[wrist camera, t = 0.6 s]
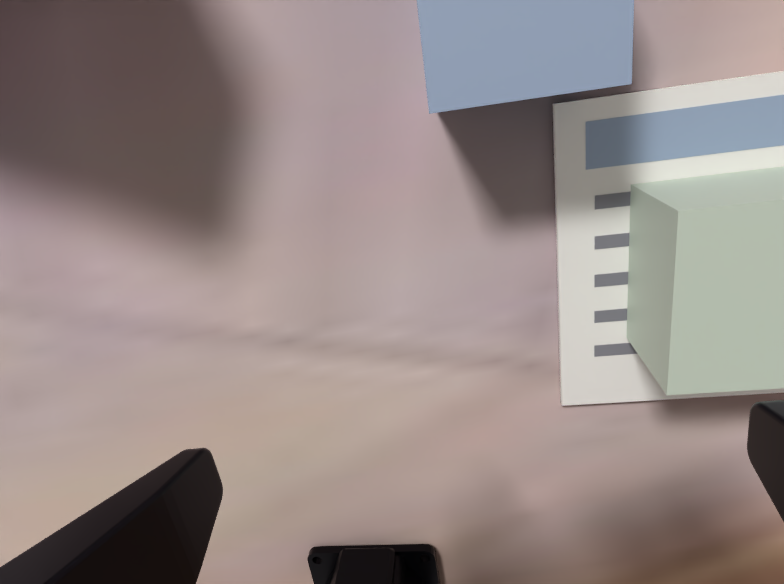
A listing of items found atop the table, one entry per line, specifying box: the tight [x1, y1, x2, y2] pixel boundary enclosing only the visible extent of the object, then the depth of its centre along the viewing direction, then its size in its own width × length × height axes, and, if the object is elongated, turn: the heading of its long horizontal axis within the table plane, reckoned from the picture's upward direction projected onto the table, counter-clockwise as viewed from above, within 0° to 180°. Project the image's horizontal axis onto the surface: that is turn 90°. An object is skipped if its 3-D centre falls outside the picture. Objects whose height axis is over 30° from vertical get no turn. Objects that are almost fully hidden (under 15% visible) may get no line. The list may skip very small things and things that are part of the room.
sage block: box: [627, 166, 784, 395], centre depth 17 cm, size 6×6×4 cm
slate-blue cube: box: [417, 0, 634, 114], centre depth 14 cm, size 5×5×5 cm
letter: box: [553, 71, 784, 406], centre depth 19 cm, size 12×11×1 cm
